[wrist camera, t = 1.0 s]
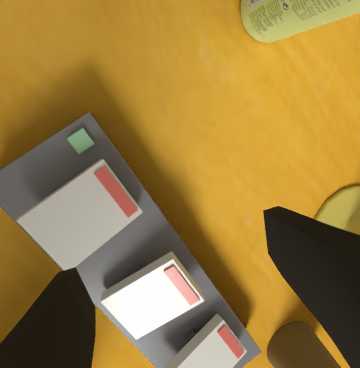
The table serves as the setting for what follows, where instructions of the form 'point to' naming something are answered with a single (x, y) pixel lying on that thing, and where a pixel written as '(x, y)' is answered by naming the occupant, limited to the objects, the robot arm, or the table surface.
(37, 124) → the table surface
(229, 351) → the rocker
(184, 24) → the table surface
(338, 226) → the candle
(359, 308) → the robot arm
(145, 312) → the rocker
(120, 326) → the strip
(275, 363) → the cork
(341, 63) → the table surface
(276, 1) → the tube
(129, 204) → the rocker
